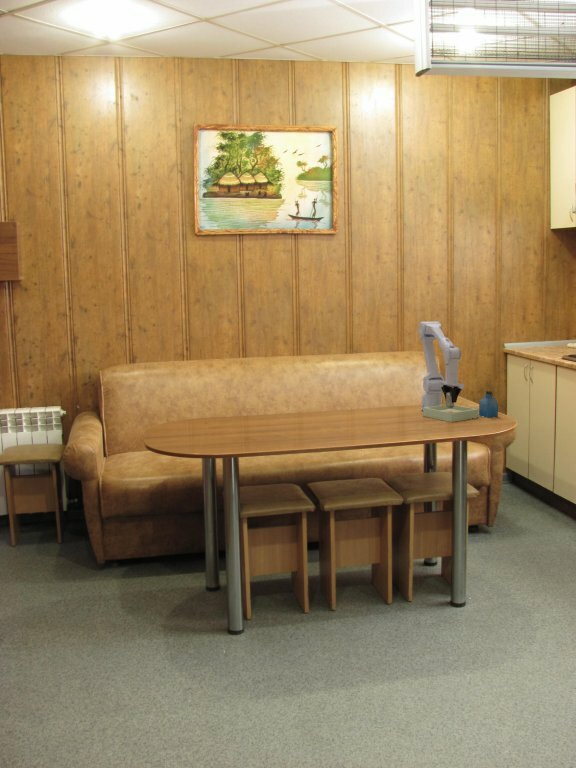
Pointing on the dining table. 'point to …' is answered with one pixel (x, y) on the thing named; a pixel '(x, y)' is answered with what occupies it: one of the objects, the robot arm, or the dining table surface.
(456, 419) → the box
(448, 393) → the peg
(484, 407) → the perfume bottle
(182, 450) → the dining table surface
